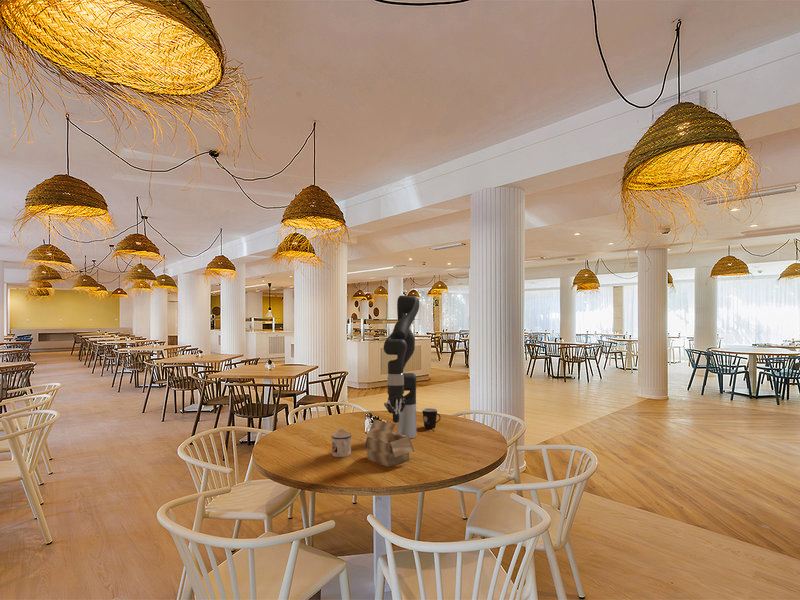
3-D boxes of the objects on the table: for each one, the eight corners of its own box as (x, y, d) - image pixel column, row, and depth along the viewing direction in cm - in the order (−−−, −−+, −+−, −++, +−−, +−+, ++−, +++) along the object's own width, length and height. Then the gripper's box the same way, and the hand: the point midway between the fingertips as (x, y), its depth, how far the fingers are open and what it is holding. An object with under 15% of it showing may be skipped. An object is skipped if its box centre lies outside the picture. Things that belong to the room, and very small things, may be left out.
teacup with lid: (329, 452, 195) (329, 427, 195) (348, 450, 199) (348, 425, 199) (336, 460, 184) (336, 434, 185) (355, 457, 188) (355, 431, 188)
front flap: (366, 436, 185) (374, 419, 188) (367, 436, 185) (375, 419, 188) (387, 442, 175) (394, 424, 179) (387, 442, 176) (395, 424, 179)
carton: (363, 458, 187) (362, 434, 188) (388, 450, 198) (388, 428, 199) (394, 469, 173) (393, 444, 173) (419, 460, 184) (419, 436, 184)
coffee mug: (420, 426, 242) (420, 408, 242) (434, 425, 245) (433, 407, 245) (427, 431, 231) (427, 413, 231) (441, 430, 233) (441, 411, 234)
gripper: (400, 381, 197) (400, 418, 196) (379, 384, 187) (379, 423, 186) (411, 382, 191) (412, 421, 190) (390, 386, 182) (391, 426, 181)
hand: (396, 422), depth 188 cm, fingers closed
